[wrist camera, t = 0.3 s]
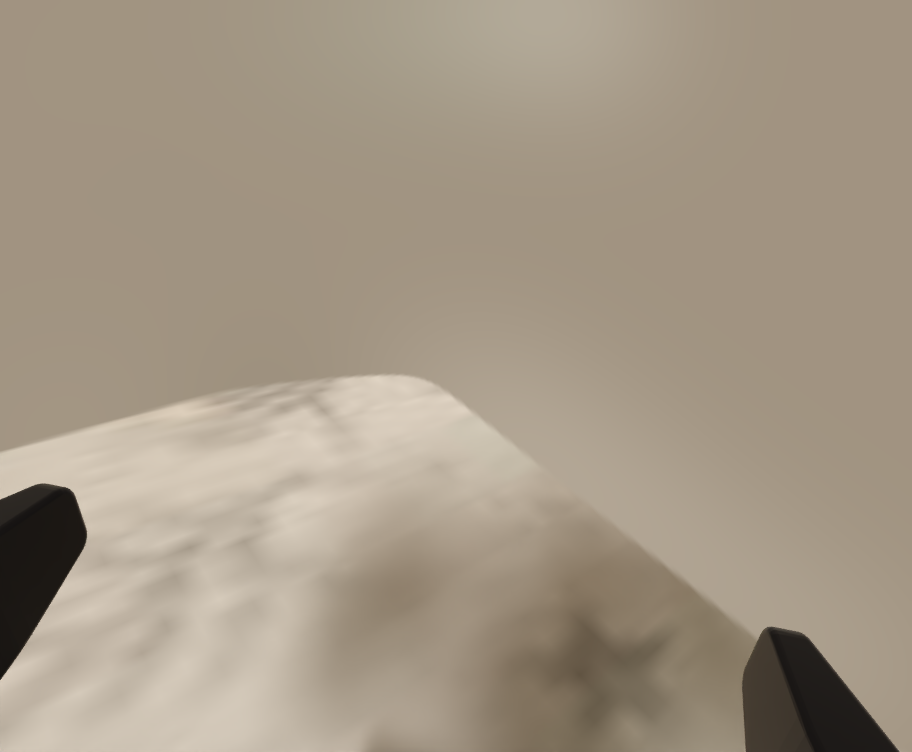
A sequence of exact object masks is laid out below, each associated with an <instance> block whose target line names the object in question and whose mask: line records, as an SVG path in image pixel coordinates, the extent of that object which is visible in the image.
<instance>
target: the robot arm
mask: <svg viewBox="0 0 912 752" xmlns="http://www.w3.org/2000/svg"><path fill="white" fill-rule="evenodd" d="M86 539H87V530H86V526H85V523H84V520H83V517H82V514H81V511H80V508H79V506H78V503H77V500H76V497H75V495H74V493H73V492H72V491H71V490H70V489H68V488H66V487H61V486H56V485H51V484H37V485H34V486H31V487H29V488H27V489H24V490H22V491H20V492H17V493H15V494H13V495H10V496H8V497H5V498H3V499H1V500H0V680H1V679H2V677H3V676H4V674H5V673H6V672H7V670H8V669H9V668H10V666H11V665H12V663H13V662H14V661H15V659H16V658H17V656H18V655H19V653H20V652H21V651H22V649H23V647H24V646H25V644H26V643H27V641H28V639H29V638H30V636H31V635H32V633H33V632H34V630H35V628H36V627H37V625H38V623H39V622H40V620H41V618H42V617H43V615H44V613H45V612H46V610H47V608H48V607H49V605H50V604H51V602H52V600H53V599H54V597H55V595H56V594H57V592H58V590H59V589H60V587H61V585H62V584H63V582H64V580H65V579H66V577H67V575H68V574H69V572H70V570H71V569H72V567H73V565H74V564H75V562H76V560H77V559H78V557H79V556H80V554H81V552H82V550H83V548H84V546H85V543H86ZM742 692H743V710H744V727H745V744H746V752H899V750H898V749H897V748H896V747H895V745H894V744H893V743H892V742H891V740H890V739H889V738H888V737H887V736H886V734H885V733H884V732H883V730H882V729H881V728H880V727H879V726H878V724H877V723H876V722H875V720H874V719H873V718H872V717H871V715H870V714H869V713H868V712H867V710H866V709H865V708H864V707H863V705H862V704H861V703H860V702H859V700H858V699H857V698H856V697H855V695H854V694H853V693H852V692H851V691H850V689H849V688H848V687H847V685H846V684H845V683H844V682H843V680H842V679H841V678H840V677H839V676H838V674H837V673H836V672H835V670H834V669H833V668H832V667H831V665H830V664H829V663H828V662H827V660H826V659H825V658H824V657H823V655H822V654H821V653H820V652H819V651H818V649H817V648H816V647H815V645H814V644H813V643H812V642H811V641H810V639H809V638H808V637H806V636H805V635H804V634H802V633H800V632H796V631H791V630H786V629H781V628H775V627H767V628H765V629H764V630H763V631H762V633H761V635H760V637H759V639H758V641H757V643H756V645H755V647H754V650H753V652H752V654H751V656H750V658H749V660H748V663H747V665H746V667H745V670H744V674H743V682H742Z"/></svg>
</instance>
